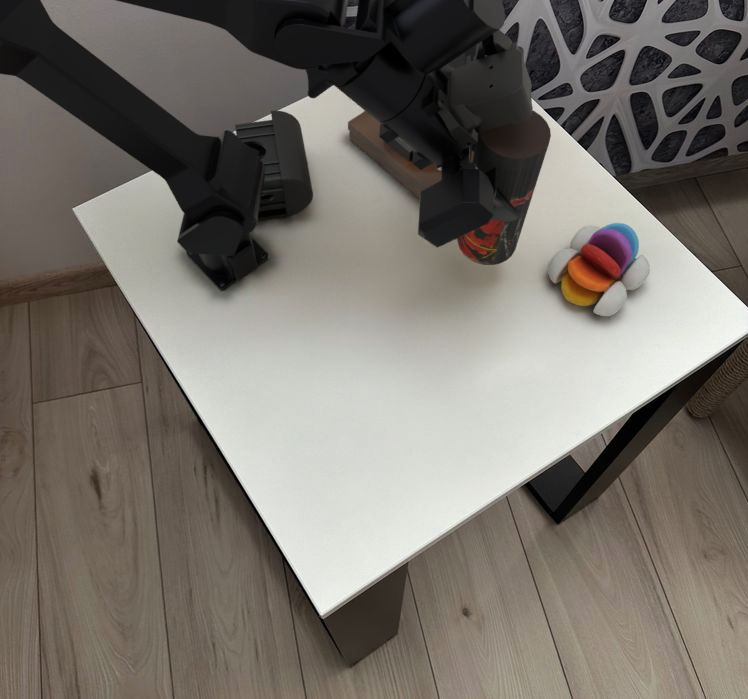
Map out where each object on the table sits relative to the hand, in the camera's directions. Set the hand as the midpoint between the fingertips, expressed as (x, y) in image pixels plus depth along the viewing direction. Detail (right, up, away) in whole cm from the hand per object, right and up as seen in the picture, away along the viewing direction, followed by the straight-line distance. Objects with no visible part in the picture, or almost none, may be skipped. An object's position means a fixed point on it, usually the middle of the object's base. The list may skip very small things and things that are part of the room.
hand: (514, 191), depth 70 cm
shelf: (-6, +9, +20) cm, 23 cm away
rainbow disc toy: (+10, -7, +11) cm, 17 cm away
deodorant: (-1, -4, +7) cm, 8 cm away
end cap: (-24, +4, +17) cm, 30 cm away
